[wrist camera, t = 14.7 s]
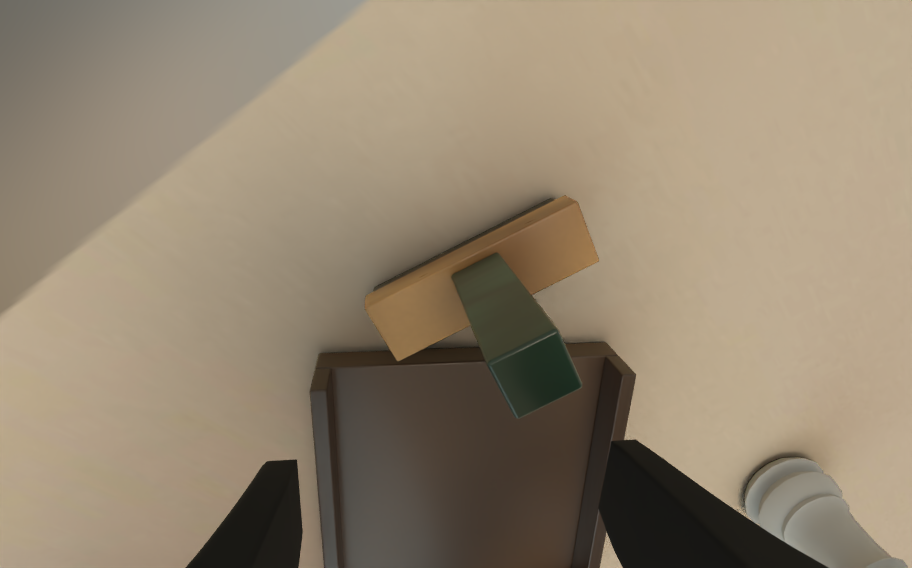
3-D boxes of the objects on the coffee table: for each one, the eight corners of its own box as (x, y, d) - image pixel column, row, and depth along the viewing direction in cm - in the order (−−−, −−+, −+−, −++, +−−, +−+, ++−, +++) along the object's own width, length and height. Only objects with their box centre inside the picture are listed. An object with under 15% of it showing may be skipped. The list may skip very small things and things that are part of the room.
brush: (395, 335, 19) (405, 487, 12) (365, 285, 18) (355, 416, 11) (576, 244, 19) (707, 339, 11) (555, 189, 18) (682, 254, 11)
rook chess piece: (825, 490, 26) (1000, 642, 19) (753, 531, 27) (897, 698, 19) (804, 437, 25) (987, 581, 17) (727, 482, 25) (873, 643, 18)
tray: (336, 604, 24) (331, 662, 21) (318, 352, 19) (309, 390, 17) (568, 577, 26) (588, 628, 23) (606, 341, 21) (637, 374, 18)
